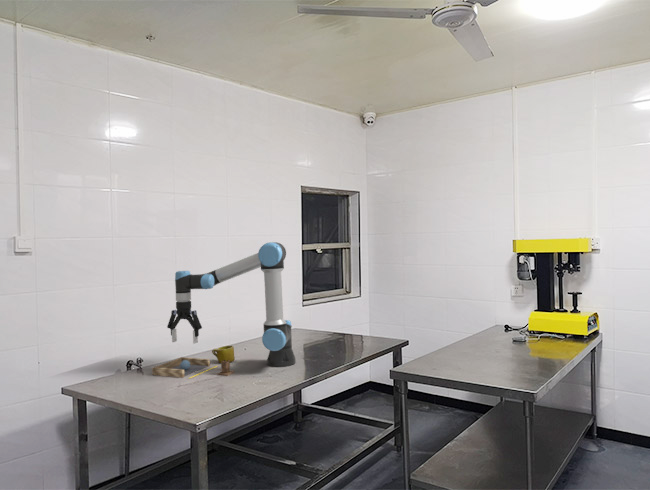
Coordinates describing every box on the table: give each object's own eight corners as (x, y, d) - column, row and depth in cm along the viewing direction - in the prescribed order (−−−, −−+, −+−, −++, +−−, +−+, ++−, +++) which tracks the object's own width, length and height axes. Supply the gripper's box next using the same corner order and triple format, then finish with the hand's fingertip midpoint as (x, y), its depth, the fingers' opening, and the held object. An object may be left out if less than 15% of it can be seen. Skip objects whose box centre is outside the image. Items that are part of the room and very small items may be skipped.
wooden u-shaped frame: (209, 365, 262) (209, 359, 262) (182, 377, 241) (182, 370, 241) (181, 363, 269) (181, 357, 269) (152, 374, 248) (152, 367, 248)
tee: (234, 372, 247) (233, 359, 247) (227, 375, 242) (227, 362, 241) (223, 371, 249) (223, 359, 249) (217, 375, 244) (216, 361, 244)
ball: (192, 368, 255) (191, 358, 256) (186, 370, 251) (185, 360, 251) (185, 368, 257) (183, 359, 257) (178, 371, 253) (177, 361, 253)
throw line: (217, 366, 261) (217, 365, 261) (190, 378, 239) (190, 378, 239) (216, 366, 261) (216, 365, 261) (188, 378, 239) (188, 378, 239)
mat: (207, 366, 261) (207, 365, 261) (183, 376, 243) (183, 375, 243) (182, 364, 267) (182, 363, 267) (157, 374, 248) (156, 373, 248)
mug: (241, 356, 273) (234, 340, 271) (231, 366, 264) (224, 350, 262) (224, 358, 279) (217, 343, 277) (214, 368, 270) (206, 352, 268)
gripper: (207, 300, 253) (209, 342, 253) (168, 299, 262) (170, 339, 262) (199, 302, 246) (200, 345, 246) (159, 301, 255) (160, 342, 255)
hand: (184, 342), depth 254 cm, fingers open, 12 cm apart
